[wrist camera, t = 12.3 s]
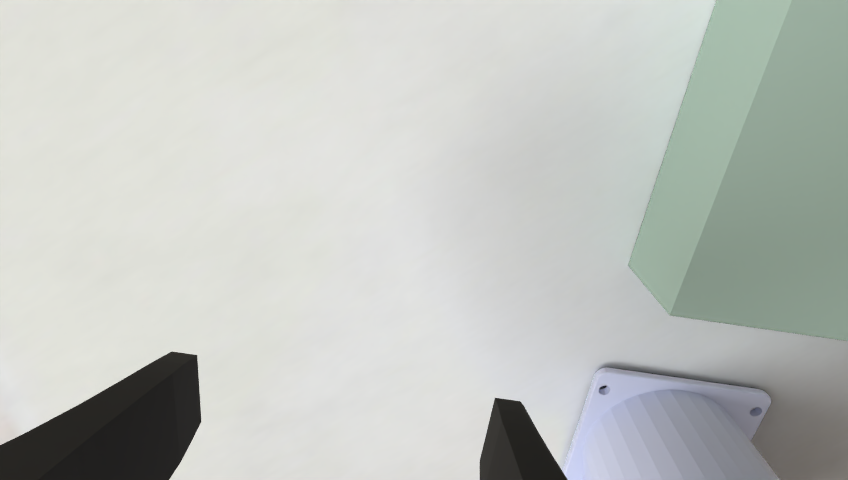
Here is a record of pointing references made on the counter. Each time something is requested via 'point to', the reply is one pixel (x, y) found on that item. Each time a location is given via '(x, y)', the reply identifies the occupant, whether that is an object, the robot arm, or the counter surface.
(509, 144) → the counter surface
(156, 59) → the counter surface
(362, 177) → the counter surface
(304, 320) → the counter surface
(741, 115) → the socket block
